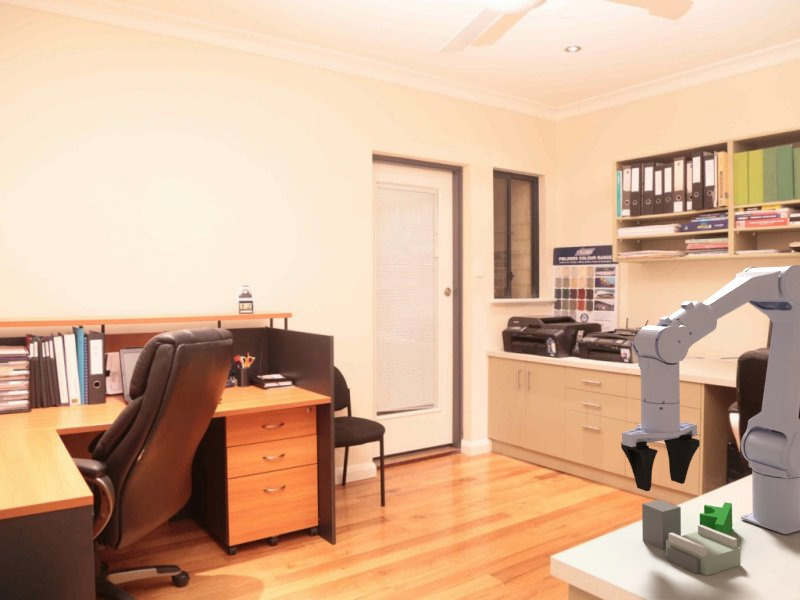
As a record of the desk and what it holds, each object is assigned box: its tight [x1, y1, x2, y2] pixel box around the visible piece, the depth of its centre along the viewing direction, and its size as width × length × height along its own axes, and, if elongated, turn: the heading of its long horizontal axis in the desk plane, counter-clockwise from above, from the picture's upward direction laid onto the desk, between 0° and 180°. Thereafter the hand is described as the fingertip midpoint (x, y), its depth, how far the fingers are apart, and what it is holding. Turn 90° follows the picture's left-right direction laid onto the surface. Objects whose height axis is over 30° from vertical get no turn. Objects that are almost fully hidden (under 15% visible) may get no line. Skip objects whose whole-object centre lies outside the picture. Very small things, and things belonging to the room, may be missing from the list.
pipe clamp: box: [699, 501, 733, 536], centre depth 99 cm, size 11×4×5 cm, turn 145°
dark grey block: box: [641, 499, 682, 551], centre depth 98 cm, size 4×5×6 cm
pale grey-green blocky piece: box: [665, 524, 742, 577], centre depth 91 cm, size 8×7×4 cm
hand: (660, 485), depth 98 cm, fingers open, 7 cm apart
